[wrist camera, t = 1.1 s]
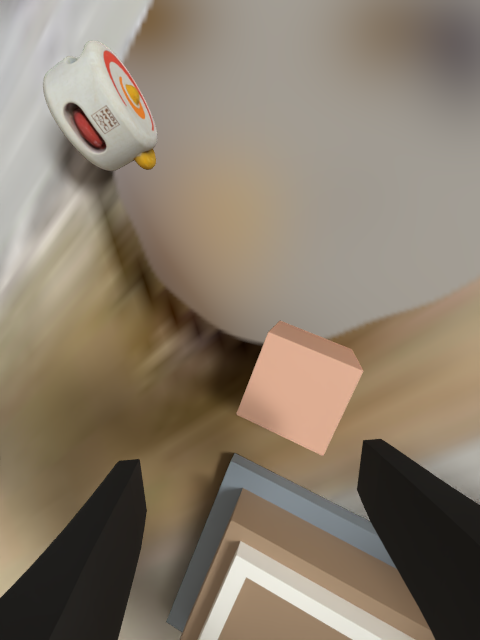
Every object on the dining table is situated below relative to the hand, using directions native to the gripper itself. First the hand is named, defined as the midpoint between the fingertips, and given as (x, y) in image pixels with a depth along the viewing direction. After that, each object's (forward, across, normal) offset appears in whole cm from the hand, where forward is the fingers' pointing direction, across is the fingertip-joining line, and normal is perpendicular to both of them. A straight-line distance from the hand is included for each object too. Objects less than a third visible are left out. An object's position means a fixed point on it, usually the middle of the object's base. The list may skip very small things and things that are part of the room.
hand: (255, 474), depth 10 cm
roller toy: (+17, +6, -14) cm, 23 cm away
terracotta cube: (+10, -5, +2) cm, 12 cm away
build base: (+7, -4, +18) cm, 20 cm away
